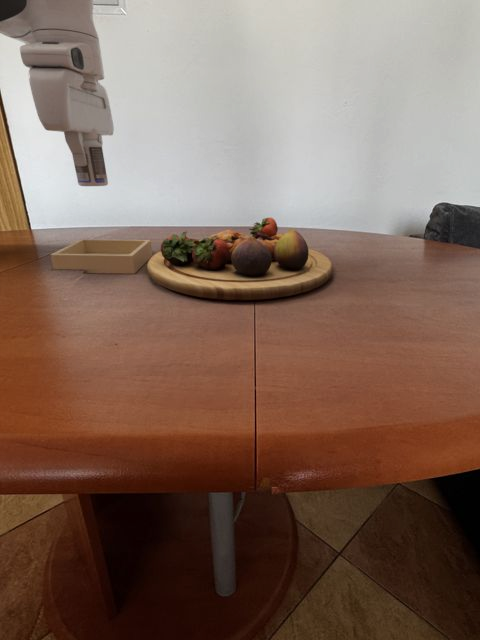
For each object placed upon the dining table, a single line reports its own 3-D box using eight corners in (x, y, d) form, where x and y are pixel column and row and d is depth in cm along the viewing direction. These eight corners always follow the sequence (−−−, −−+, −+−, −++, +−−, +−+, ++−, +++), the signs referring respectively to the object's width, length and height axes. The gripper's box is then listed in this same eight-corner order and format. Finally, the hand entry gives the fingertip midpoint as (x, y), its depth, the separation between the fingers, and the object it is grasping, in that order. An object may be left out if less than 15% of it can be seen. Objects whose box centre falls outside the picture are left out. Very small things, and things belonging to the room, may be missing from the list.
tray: (54, 272, 64) (50, 254, 63) (84, 254, 75) (81, 238, 74) (134, 273, 65) (132, 255, 63) (152, 255, 76) (150, 240, 74)
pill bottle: (106, 184, 67) (97, 129, 63) (109, 186, 63) (100, 128, 59) (77, 184, 65) (66, 128, 61) (79, 186, 61) (67, 127, 58)
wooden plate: (229, 243, 87) (228, 205, 83) (360, 267, 71) (367, 221, 67) (108, 275, 63) (99, 224, 60) (262, 322, 47) (263, 256, 43)
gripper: (78, 74, 65) (94, 163, 72) (11, 45, 47) (39, 167, 54) (115, 75, 66) (127, 163, 72) (61, 46, 47) (84, 168, 54)
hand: (89, 165), depth 63 cm, fingers closed on pill bottle, 5 cm apart
